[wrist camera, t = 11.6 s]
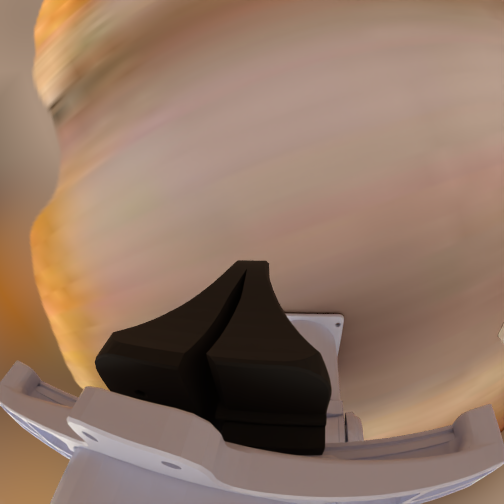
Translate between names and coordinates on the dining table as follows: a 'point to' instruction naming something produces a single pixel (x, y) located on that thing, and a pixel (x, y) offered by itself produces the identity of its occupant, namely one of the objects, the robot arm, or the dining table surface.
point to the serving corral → (501, 334)
